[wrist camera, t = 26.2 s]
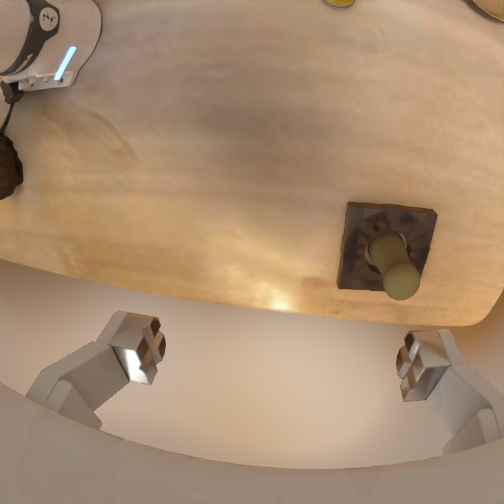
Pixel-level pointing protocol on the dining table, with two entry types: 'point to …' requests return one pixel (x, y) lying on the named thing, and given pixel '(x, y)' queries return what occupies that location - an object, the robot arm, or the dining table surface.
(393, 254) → the pepper shaker
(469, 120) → the dining table surface
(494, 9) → the plant saucer
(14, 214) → the dining table surface
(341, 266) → the holder
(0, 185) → the owl
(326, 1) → the supplement bottle
